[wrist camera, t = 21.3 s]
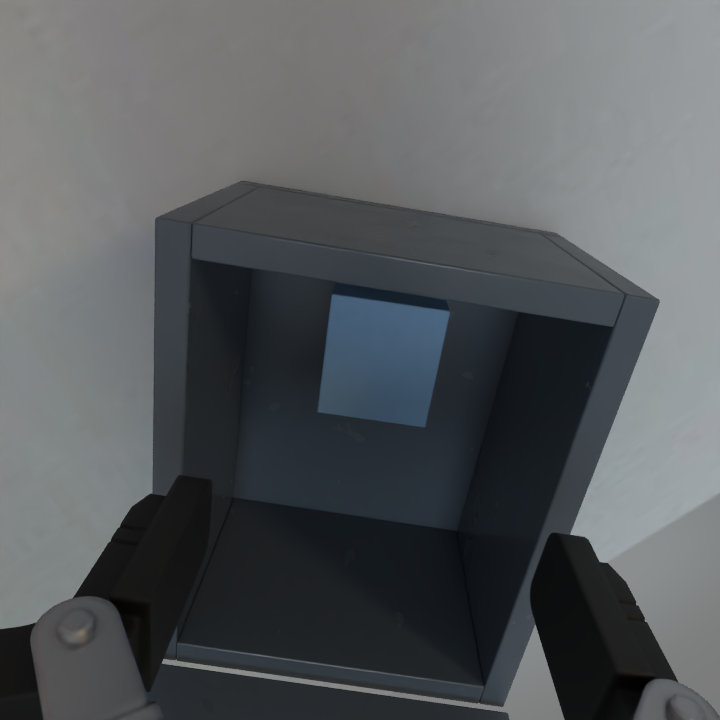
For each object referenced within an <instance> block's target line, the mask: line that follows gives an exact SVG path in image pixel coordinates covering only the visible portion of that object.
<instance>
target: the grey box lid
mask: <svg viewBox="0 0 720 720" xmlns="http://www.w3.org/2000/svg"><path fill="white" fill-rule="evenodd" d="M146 694H147V696H148V699H149V701H150V702H153V701H156V702H157V703H158V705H159V707H160V709H161V711H162V714H163V716H164V719H165V720H509V716H508V713H504V712H497V711H490V710H483V709H476V708H469V707H462V706H455V705H448V704H441V703H433V702H427V701H420V700H412V699H406V698H398V697H391V696H384V695H377V694H370V693H363V692H356V691H349V690H342V689H335V688H328V687H321V686H314V685H307V684H300V683H293V682H286V681H279V680H272V679H265V678H258V677H251V676H244V675H237V674H230V673H222V672H215V671H208V670H201V669H194V668H187V667H180V666H173V665H166V664H161V666H160V668H159V671H158V673H157V676H156V678H155V681H154V683H153V686H152V688H151V691H150V692H146Z"/></svg>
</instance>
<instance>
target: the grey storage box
mask: <svg viewBox="0 0 720 720" xmlns="http://www.w3.org/2000/svg"><path fill="white" fill-rule="evenodd" d="M335 282H337V283H343V284H349V285H355V286H362V287H368V288H374V289H380V290H386V291H392V292H399V293H405V294H411V295H417V296H423V297H429V298H435V299H442V300H446V301H447V304H448V307H449V310H450V316H449V321H448V325H447V330H446V335H445V339H444V344H443V348H442V353H441V358H440V362H439V367H438V372H437V376H436V381H435V385H434V390H433V395H432V399H431V404H430V409H429V413H428V418H427V422H426V426H425V427H418V426H411V425H404V424H397V423H390V422H383V421H376V420H369V419H362V418H355V417H348V416H341V415H334V414H326V413H319V412H317V407H318V399H319V391H320V383H321V375H322V367H323V359H324V351H325V343H326V335H327V327H328V319H329V311H330V303H331V295H332V292H333V288H334V285H335ZM659 303H660V300H659V299H657V298H655V297H654V296H652V295H651V294H649V293H648V292H646V291H645V290H643V289H642V288H640V287H639V286H637V285H635V284H634V283H632V282H631V281H629V280H628V279H626V278H625V277H623V276H622V275H620V274H618V273H617V272H615V271H614V270H612V269H611V268H609V267H608V266H606V265H605V264H603V263H602V262H600V261H598V260H597V259H595V258H594V257H592V256H591V255H589V254H588V253H586V252H585V251H583V250H582V249H580V248H578V247H577V246H575V245H574V244H572V243H571V242H569V241H568V240H566V239H565V238H563V237H561V236H560V235H558V234H557V233H553V232H547V231H541V230H535V229H529V228H523V227H517V226H511V225H505V224H499V223H493V222H487V221H481V220H475V219H469V218H463V217H457V216H451V215H445V214H439V213H433V212H427V211H421V210H415V209H409V208H403V207H397V206H391V205H385V204H379V203H373V202H367V201H361V200H355V199H349V198H343V197H337V196H331V195H325V194H319V193H313V192H307V191H301V190H295V189H289V188H283V187H277V186H271V185H265V184H259V183H253V182H247V181H240V182H238V183H235V184H233V185H231V186H228V187H226V188H224V189H221V190H219V191H217V192H214V193H212V194H210V195H207V196H205V197H203V198H201V199H198V200H196V201H194V202H191V203H189V204H187V205H184V206H182V207H180V208H177V209H175V210H173V211H170V212H168V213H166V214H163V215H161V216H159V217H156V219H155V315H154V410H153V494H156V495H162V496H166V495H167V493H168V492H169V490H170V488H171V486H172V485H173V483H174V481H175V479H176V478H177V476H179V475H184V476H190V477H197V478H204V479H210V480H212V502H211V518H210V533H209V540H208V545H207V549H206V553H205V556H204V559H203V562H202V564H201V567H200V569H199V572H198V574H197V577H196V579H195V582H194V584H193V587H192V589H191V592H190V594H189V597H188V599H187V602H186V604H185V607H184V609H183V611H182V614H181V616H180V619H179V621H178V624H177V626H176V629H175V631H174V634H173V636H172V639H171V641H170V644H169V646H168V649H167V651H166V654H165V656H164V658H163V659H169V660H176V659H177V661H182V662H189V663H196V664H203V665H210V666H218V667H225V668H232V669H239V670H246V671H253V672H260V673H267V674H274V675H281V676H288V677H295V678H302V679H309V680H316V681H323V682H330V683H337V684H344V685H351V686H358V687H365V688H372V689H379V690H386V691H393V692H400V693H407V694H415V695H421V696H428V697H435V698H442V699H450V700H456V701H464V702H471V703H480V704H485V705H492V706H500V707H503V706H504V703H505V701H506V698H507V696H508V692H509V690H510V688H511V685H512V683H513V680H514V677H515V675H516V672H517V670H518V667H519V664H520V662H521V659H522V657H523V654H524V652H525V649H526V646H527V644H528V641H529V639H530V636H531V633H532V631H533V628H534V626H535V620H534V617H533V614H532V610H531V605H530V587H531V582H532V579H533V576H534V574H535V571H536V568H537V566H538V563H539V560H540V557H541V555H542V552H543V549H544V547H545V544H546V541H547V539H548V537H549V535H550V534H551V533H561V534H567V535H570V533H571V530H572V528H573V525H574V522H575V520H576V517H577V515H578V512H579V509H580V507H581V504H582V502H583V499H584V497H585V494H586V491H587V489H588V486H589V484H590V481H591V478H592V476H593V473H594V471H595V468H596V466H597V463H598V460H599V458H600V455H601V453H602V450H603V447H604V445H605V442H606V440H607V437H608V435H609V432H610V429H611V427H612V424H613V422H614V419H615V416H616V414H617V411H618V409H619V406H620V404H621V401H622V398H623V396H624V393H625V391H626V388H627V385H628V383H629V380H630V378H631V375H632V373H633V370H634V367H635V365H636V362H637V360H638V357H639V354H640V352H641V349H642V347H643V344H644V342H645V339H646V336H647V334H648V331H649V329H650V326H651V323H652V321H653V318H654V316H655V313H656V311H657V308H658V305H659Z"/></svg>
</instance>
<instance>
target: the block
mask: <svg viewBox="0 0 720 720" xmlns="http://www.w3.org/2000/svg"><path fill="white" fill-rule="evenodd" d="M449 316H450V310H449V307H448V304H447V301H446V300H442V299H435V298H429V297H423V296H417V295H411V294H405V293H399V292H392V291H386V290H380V289H374V288H368V287H362V286H355V285H349V284H343V283H337V282H335V285H334V288H333V292H332V295H331V303H330V311H329V319H328V327H327V335H326V343H325V351H324V359H323V367H322V375H321V383H320V391H319V399H318V407H317V412H319V413H326V414H334V415H341V416H348V417H355V418H362V419H369V420H376V421H383V422H390V423H397V424H404V425H411V426H418V427H425V426H426V422H427V418H428V413H429V409H430V404H431V399H432V395H433V390H434V385H435V381H436V376H437V372H438V367H439V362H440V358H441V353H442V348H443V344H444V339H445V335H446V330H447V325H448V321H449Z"/></svg>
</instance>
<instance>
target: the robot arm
mask: <svg viewBox="0 0 720 720" xmlns="http://www.w3.org/2000/svg"><path fill="white" fill-rule="evenodd" d="M211 502H212V480H210V479H204V478H197V477H190V476H184V475H179V476H177V478H176V479H175V481H174V483H173V485H172V486H171V488H170V490H169V492H168V493H167V495H166V496H162V495H156V494H149V495H148V496H146V497H145V498H144V499H142V500H141V501H139V502H138V503H137V504H135V505H134V506H132V507H131V509H130V510H129V512H128V514H127V515H126V517H125V518H124V520H123V521H122V523H121V525H120V528H118V529H117V531H116V532H115V534H114V535H113V537H112V539H111V542H109V543H108V545H107V546H106V548H105V549H104V551H103V552H102V554H101V556H100V557H99V559H98V560H97V562H96V563H95V565H94V566H93V568H92V569H91V571H90V573H89V574H88V576H87V577H86V579H85V580H84V582H83V583H82V585H81V587H80V588H79V590H78V591H77V593H76V594H75V596H74V597H73V598H72V599H69V600H66V601H64V602H61V603H59V604H57V605H55V606H54V607H52V608H51V609H49V610H48V611H47V612H46V613H44V614H43V615H42V616H41V617H40V619H39V620H38V621H37V622H36V623H33V624H30V625H26V626H21V627H14V628H7V629H0V720H165V719H164V716H163V714H162V711H161V709H160V707H159V705H158V703H157V702H156V701H153V702H150V701H149V699H148V696H147V694H146V692H150V691H151V688H152V686H153V683H154V681H155V678H156V676H157V673H158V671H159V668H160V666H161V663H162V661H163V658H164V656H165V654H166V651H167V649H168V646H169V644H170V641H171V639H172V636H173V634H174V631H175V629H176V626H177V624H178V621H179V619H180V616H181V614H182V611H183V609H184V607H185V604H186V602H187V599H188V597H189V594H190V592H191V589H192V587H193V584H194V582H195V579H196V577H197V574H198V572H199V569H200V567H201V564H202V562H203V559H204V556H205V553H206V549H207V545H208V540H209V533H210V518H211ZM530 605H531V610H532V614H533V617H534V620H535V624H536V627H537V630H538V633H539V637H540V640H541V643H542V647H543V650H544V653H545V657H546V660H547V663H548V666H549V670H550V673H551V676H552V679H553V683H554V686H555V689H556V693H557V696H558V699H559V703H560V706H561V709H562V712H563V715H564V719H565V720H720V716H719V715H718V713H717V712H716V711H715V709H714V708H713V707H712V706H711V705H710V704H709V703H708V702H707V701H706V700H705V699H704V698H703V697H702V696H700V695H699V694H698V693H697V692H695V691H694V690H692V689H690V688H688V687H687V686H685V685H683V684H681V683H679V682H678V680H677V679H676V677H675V675H674V673H673V671H672V669H671V667H670V665H669V663H668V662H667V659H666V658H665V656H664V654H663V652H662V650H661V648H660V646H659V644H658V642H657V641H656V639H655V637H654V635H653V633H652V631H651V629H650V627H649V625H648V623H647V622H645V618H644V616H643V614H642V612H641V610H640V608H639V606H636V601H635V599H634V597H633V595H632V593H631V591H630V589H629V587H628V585H627V583H626V582H625V581H624V580H623V579H622V578H621V576H619V575H618V573H616V571H615V570H614V569H613V568H612V567H611V566H610V565H609V564H608V563H602V562H599V560H598V558H597V556H596V554H595V552H594V550H593V548H592V546H591V544H590V542H589V540H588V539H587V538H585V537H581V536H574V535H567V534H561V533H551V534H550V535H549V537H548V539H547V541H546V544H545V547H544V549H543V552H542V555H541V557H540V560H539V563H538V566H537V568H536V571H535V574H534V576H533V579H532V582H531V587H530Z"/></svg>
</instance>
